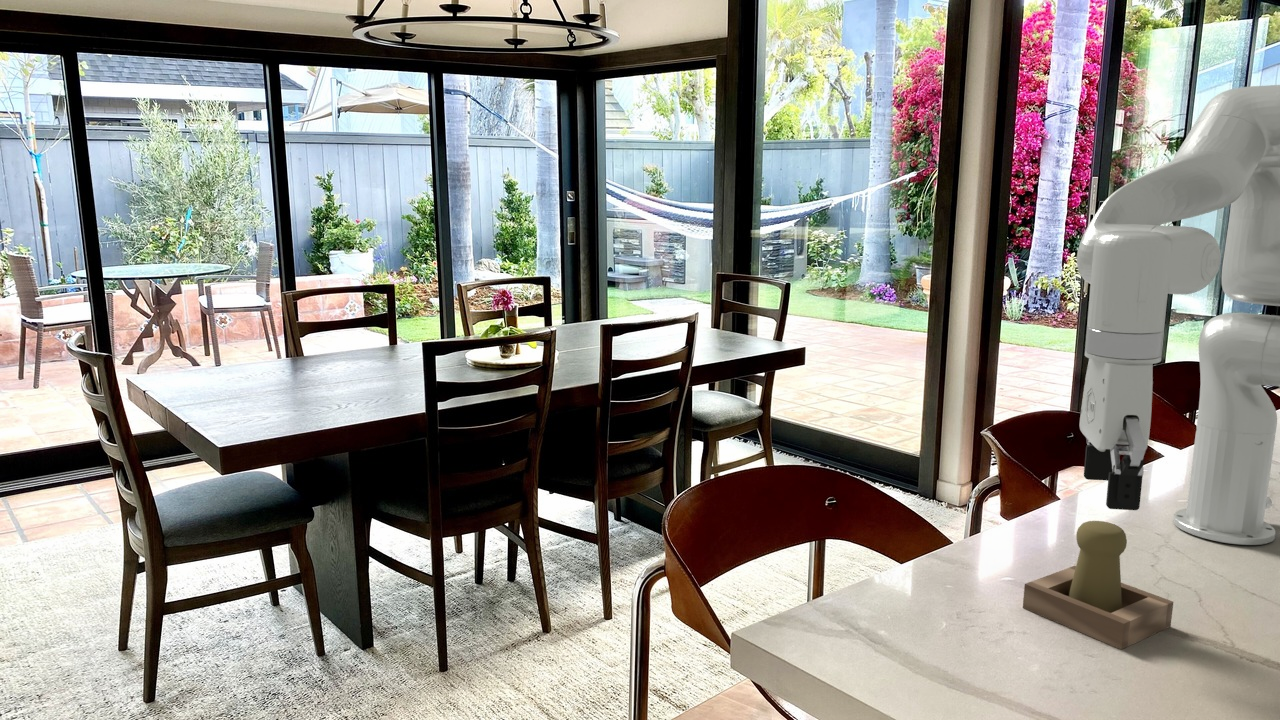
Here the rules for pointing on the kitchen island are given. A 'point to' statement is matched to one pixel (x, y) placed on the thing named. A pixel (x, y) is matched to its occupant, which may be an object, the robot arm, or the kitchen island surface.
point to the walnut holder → (1099, 610)
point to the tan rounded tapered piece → (1099, 565)
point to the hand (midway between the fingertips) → (1109, 493)
